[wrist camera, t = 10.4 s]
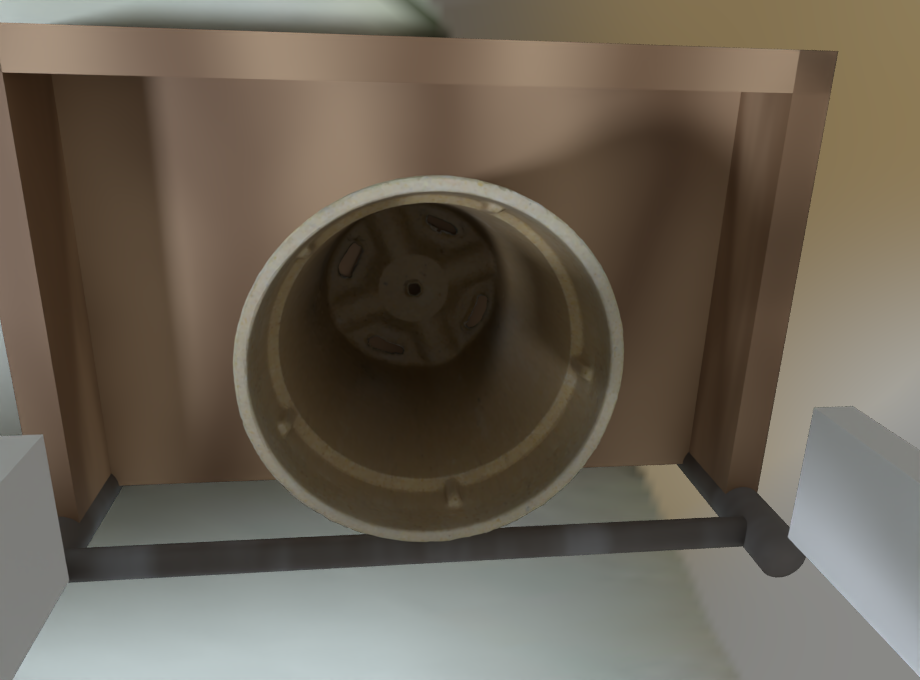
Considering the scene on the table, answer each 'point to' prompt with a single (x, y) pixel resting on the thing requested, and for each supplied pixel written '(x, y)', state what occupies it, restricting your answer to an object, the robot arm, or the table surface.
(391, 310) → the flower pot
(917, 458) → the robot arm
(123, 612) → the table surface
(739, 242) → the wooden tray
